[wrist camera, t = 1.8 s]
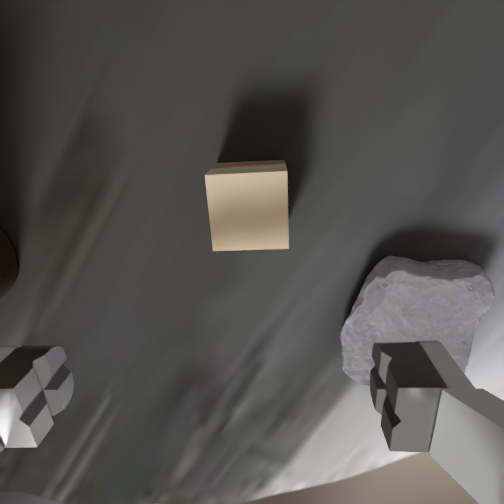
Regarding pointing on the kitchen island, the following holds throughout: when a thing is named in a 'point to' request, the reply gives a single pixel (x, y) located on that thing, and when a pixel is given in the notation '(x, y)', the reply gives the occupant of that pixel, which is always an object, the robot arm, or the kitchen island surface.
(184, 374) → the kitchen island surface
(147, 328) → the kitchen island surface
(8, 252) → the olive oil
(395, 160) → the kitchen island surface
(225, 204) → the maple block
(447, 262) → the stone block
